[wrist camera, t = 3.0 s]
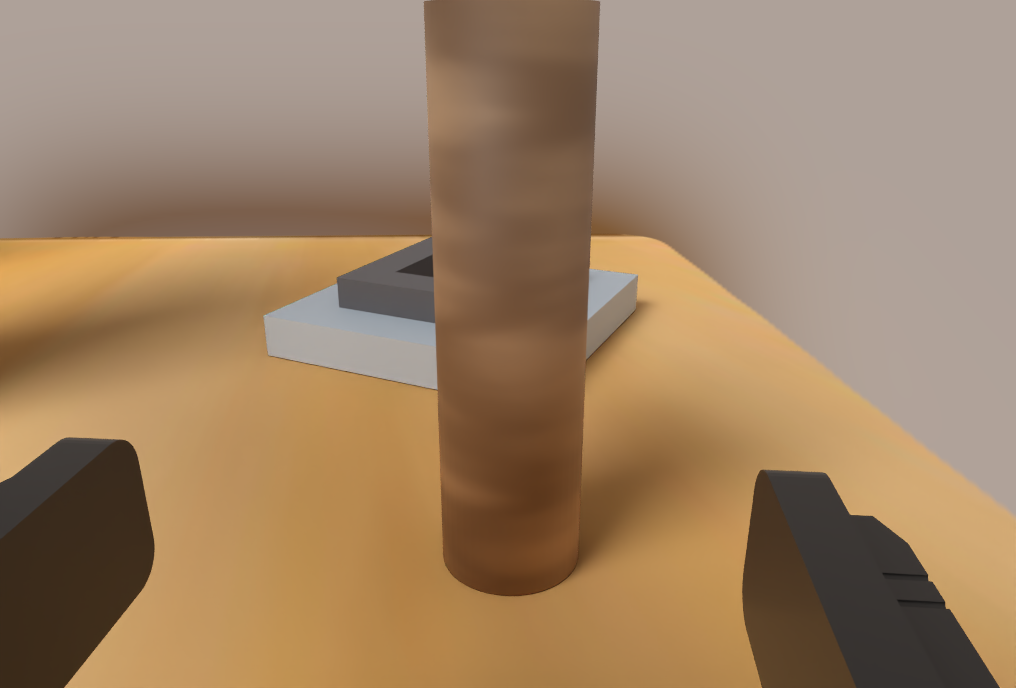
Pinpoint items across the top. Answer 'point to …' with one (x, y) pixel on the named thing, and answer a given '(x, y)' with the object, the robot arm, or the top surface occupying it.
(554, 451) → the peg
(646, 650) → the top surface
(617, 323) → the socket
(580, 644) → the top surface
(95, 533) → the robot arm
